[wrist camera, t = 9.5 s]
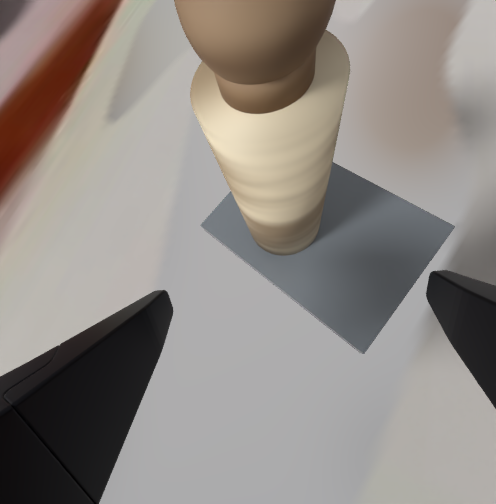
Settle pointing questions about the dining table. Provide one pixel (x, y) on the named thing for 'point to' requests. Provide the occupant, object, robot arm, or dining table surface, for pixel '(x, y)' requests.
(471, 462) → the dining table surface
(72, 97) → the dining table surface
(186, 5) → the pepper mill
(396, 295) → the slate board
